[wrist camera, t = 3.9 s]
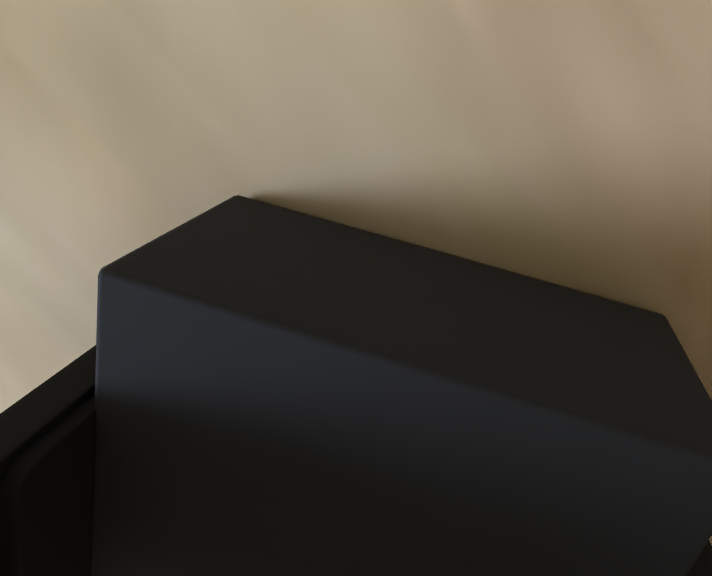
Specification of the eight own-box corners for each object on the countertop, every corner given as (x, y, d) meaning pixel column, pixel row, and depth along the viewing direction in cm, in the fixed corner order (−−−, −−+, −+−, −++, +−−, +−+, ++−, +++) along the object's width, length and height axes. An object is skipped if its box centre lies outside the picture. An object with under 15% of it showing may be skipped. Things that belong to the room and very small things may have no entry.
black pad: (235, 192, 9) (94, 267, 6) (666, 314, 8) (757, 473, 5) (196, 504, 12) (84, 666, 9) (519, 621, 11) (520, 846, 8)
